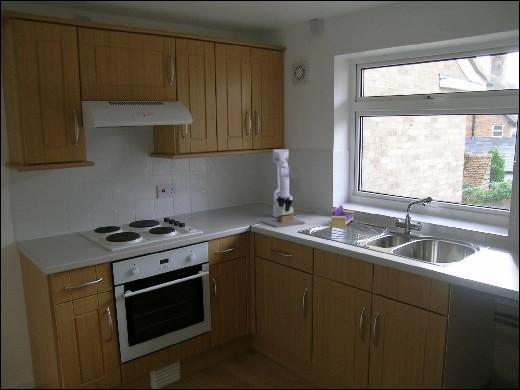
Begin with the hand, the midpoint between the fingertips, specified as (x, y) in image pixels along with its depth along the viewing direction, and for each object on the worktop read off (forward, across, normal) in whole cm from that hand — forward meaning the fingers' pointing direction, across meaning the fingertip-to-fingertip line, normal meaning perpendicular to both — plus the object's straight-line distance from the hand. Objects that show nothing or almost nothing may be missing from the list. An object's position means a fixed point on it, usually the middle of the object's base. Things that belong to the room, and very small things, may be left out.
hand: (284, 210), depth 273 cm
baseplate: (+8, +1, +1) cm, 8 cm away
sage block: (+2, 0, -1) cm, 2 cm away
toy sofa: (+8, -21, -27) cm, 36 cm away
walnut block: (+7, 0, -1) cm, 7 cm away
